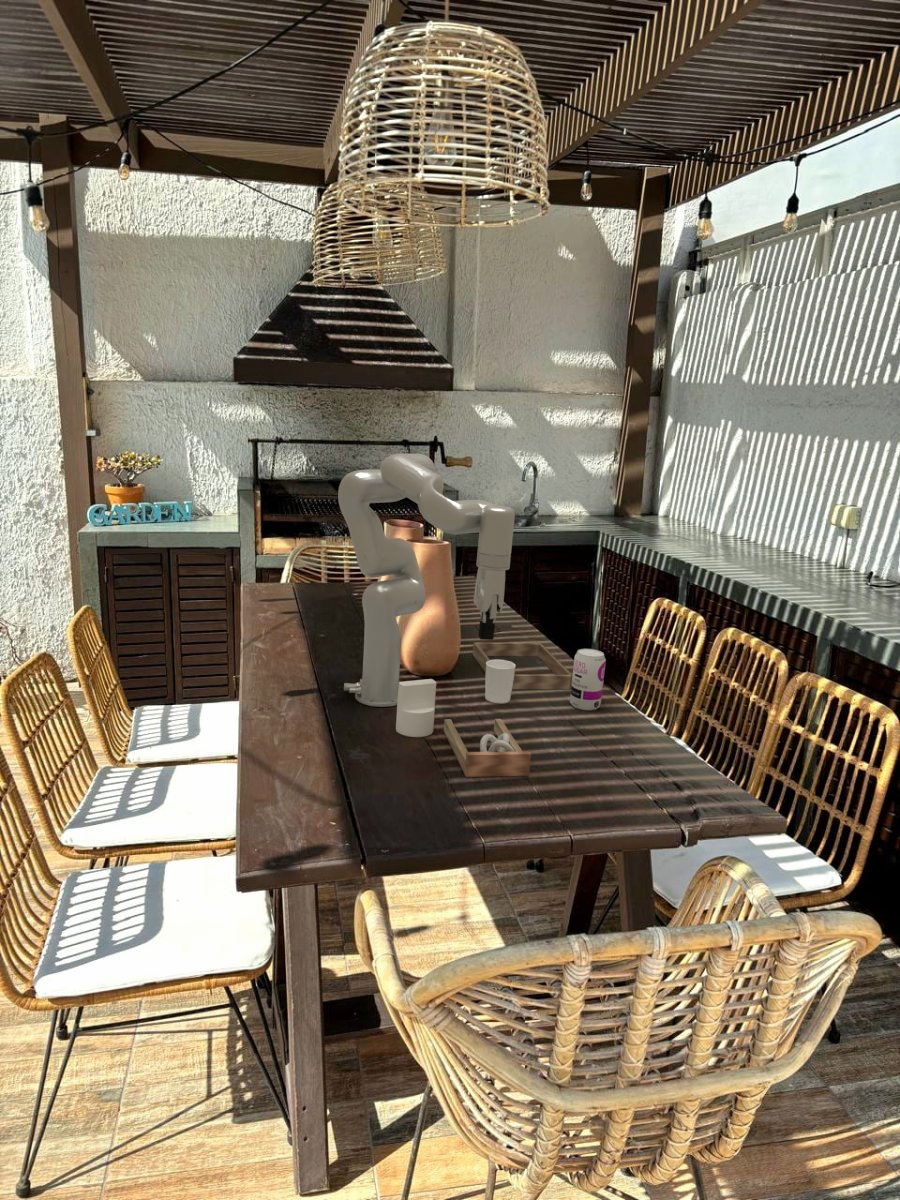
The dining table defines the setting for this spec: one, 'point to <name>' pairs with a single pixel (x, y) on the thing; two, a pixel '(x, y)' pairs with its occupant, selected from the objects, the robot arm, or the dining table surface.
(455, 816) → the dining table surface
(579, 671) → the supplement can
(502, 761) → the guide channel
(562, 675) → the serving tray rim
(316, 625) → the dining table surface
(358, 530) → the robot arm
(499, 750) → the knot
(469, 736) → the dining table surface
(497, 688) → the white cup
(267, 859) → the dining table surface
